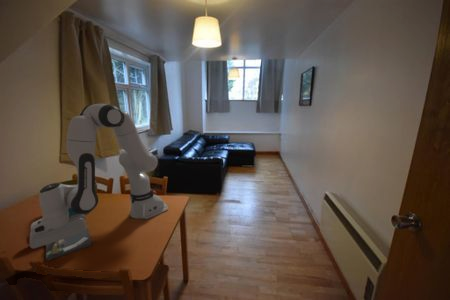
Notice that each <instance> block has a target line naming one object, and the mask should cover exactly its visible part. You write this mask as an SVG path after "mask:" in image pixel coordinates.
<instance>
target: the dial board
mask: <svg viewBox="0 0 450 300" xmlns="http://www.w3.org/2000/svg"><path fill="white" fill-rule="evenodd" d="M67 239H68V240H67V242H66V243H65V244H66V247H63V248H60V249H59V251H58V253H56V254H53V252H52V248H53V246H54V245H55V242H52V243H49V244H46V245H45V246H46V247H45V261H46V262H47V261H50V260H53V259H55V258H59V257H62V256H65V255H68V254H71V253H73V252H76V251H78V250H82V249H85V248H87V247H91V246H92V245H93V242H92V239H91V236H90V233H89V229H88V227H87V230H86V231H85V232H83V233H80V234H77V235H74V236H71V237H68V238H67Z"/></svg>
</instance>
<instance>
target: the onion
mask: <svg viewBox="0 0 450 300" xmlns="http://www.w3.org/2000/svg"><path fill="white" fill-rule="evenodd" d="M25 241H26V244H27V245H28V246H30V233H29V234H28V235H27V237H26V238H25Z"/></svg>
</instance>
